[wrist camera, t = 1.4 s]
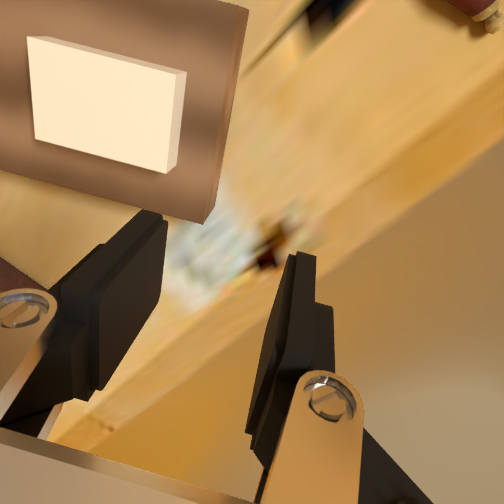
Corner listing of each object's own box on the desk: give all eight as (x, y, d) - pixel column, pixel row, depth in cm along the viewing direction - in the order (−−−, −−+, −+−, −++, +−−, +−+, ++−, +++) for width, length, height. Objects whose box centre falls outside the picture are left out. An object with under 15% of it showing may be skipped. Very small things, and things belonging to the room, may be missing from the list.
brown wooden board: (-45, -64, 25) (-95, -77, 22) (249, 9, 24) (238, 5, 21) (-14, 145, 32) (-49, 156, 29) (214, 206, 31) (202, 224, 28)
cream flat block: (48, 36, 24) (26, 36, 22) (186, 71, 23) (175, 74, 22) (53, 132, 27) (35, 138, 25) (176, 164, 26) (166, 173, 25)
